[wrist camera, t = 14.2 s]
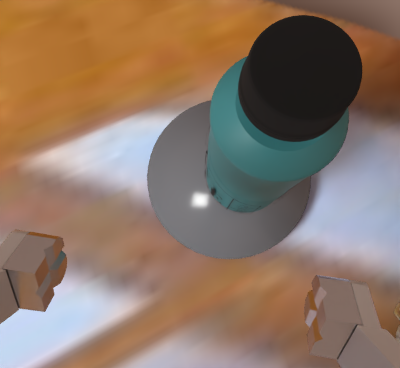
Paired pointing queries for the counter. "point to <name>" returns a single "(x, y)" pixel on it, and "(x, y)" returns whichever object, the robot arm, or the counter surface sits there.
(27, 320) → the counter surface
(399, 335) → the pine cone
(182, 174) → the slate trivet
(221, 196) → the beverage bottle
